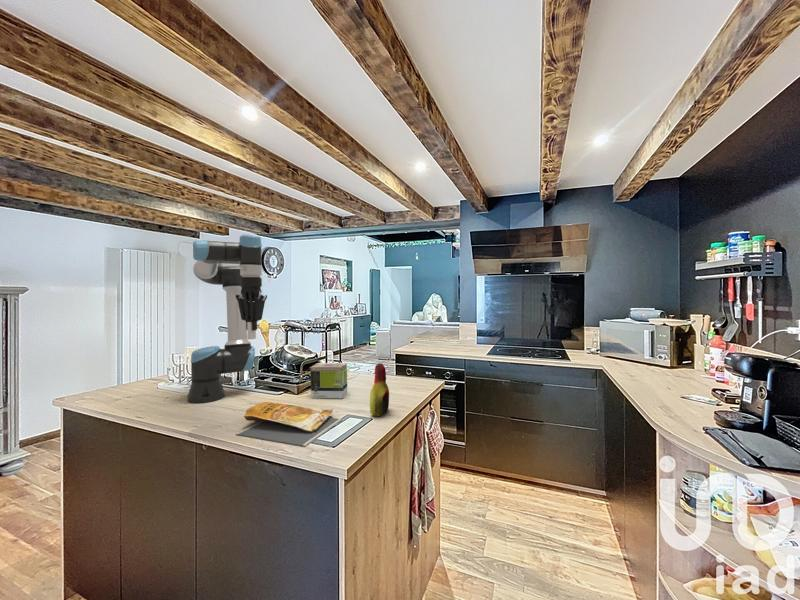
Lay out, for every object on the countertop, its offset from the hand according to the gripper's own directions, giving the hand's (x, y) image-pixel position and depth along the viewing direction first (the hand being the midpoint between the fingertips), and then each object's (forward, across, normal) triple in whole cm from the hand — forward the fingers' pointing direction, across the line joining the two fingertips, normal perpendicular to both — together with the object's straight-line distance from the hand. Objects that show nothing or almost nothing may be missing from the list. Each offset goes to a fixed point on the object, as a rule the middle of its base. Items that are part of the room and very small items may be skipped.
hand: (251, 338), depth 132 cm
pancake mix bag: (+29, +1, 0) cm, 29 cm away
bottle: (+31, +43, +23) cm, 58 cm away
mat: (+31, +18, -1) cm, 36 cm away
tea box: (+32, +11, +37) cm, 50 cm away
